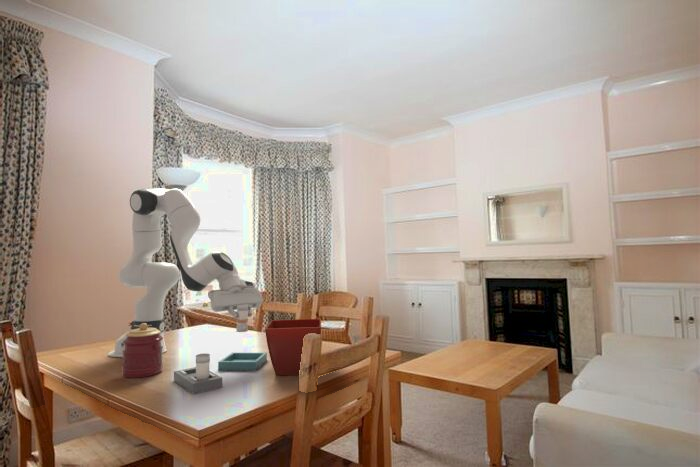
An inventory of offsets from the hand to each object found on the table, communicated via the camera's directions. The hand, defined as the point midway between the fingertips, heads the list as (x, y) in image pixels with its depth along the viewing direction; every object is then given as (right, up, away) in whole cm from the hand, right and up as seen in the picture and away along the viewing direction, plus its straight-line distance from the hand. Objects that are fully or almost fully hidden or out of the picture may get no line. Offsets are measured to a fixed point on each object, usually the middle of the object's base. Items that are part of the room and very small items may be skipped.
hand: (243, 316), depth 151 cm
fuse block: (-9, -17, -22) cm, 29 cm away
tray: (0, -18, 0) cm, 18 cm away
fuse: (-6, -17, -25) cm, 31 cm away
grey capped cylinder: (-1, -6, 0) cm, 6 cm away
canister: (-34, -18, -9) cm, 39 cm away
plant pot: (+21, -18, -7) cm, 28 cm away
